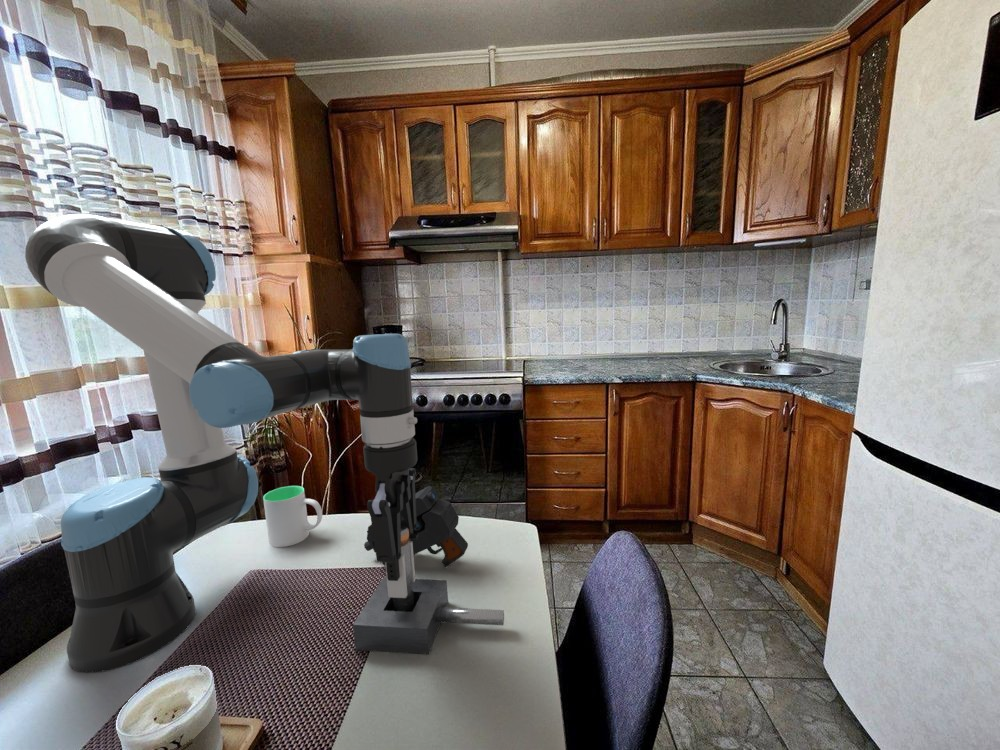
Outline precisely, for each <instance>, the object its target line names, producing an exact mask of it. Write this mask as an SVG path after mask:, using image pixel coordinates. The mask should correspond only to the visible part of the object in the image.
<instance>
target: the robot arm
mask: <svg viewBox="0 0 1000 750" xmlns="http://www.w3.org/2000/svg"><path fill="white" fill-rule="evenodd" d="M25 245H26V246H25V250H24V255H25V256H24V258H25V261H26V265H27V269H28V270H29V272H30V274H31V275H32V277H33V278H34V280H35V281H36V282H37V284H39V285H40V286H41V287H42V288H43V289H44V290H45V291H47V292H48V293H49V294H50V295H52V296H54V297H56V299H58V300H59V301H61V302H63V303H65V304H67V305H70V306H73V307H80V308H84V309H86V310H87V311H88V312H90V313H91V314H93V315H94V316H95V317H97V318H98V319H100V320H101V321H103V322H104V323H106V325H108V326H109V327H111V328H112V329H114V330H115V331H116V332H118V333H119V334H120V335H122V336H123V337H125V338H126V339H128V340H129V341H130V342H131V343H133V344H134V345H136V346H137V347H139V348H140V349H142V350H143V351H142V352H143V355H144V360H145V364H146V368H147V373H148V377H149V381H150V387H151V390H152V396H153V399H154V404H155V408H156V413H157V417H158V421H159V425H160V430H161V431H160V432H161V435H162V440H163V443H164V448H165V453H166V455H165V457H164V459H163V460H162V461H161V462H160V464H159V465H158V467H157V469H158V472H159V478H160V480H159V479H158V478H157V477H150V476H149V477H148V476H145V477H144V476H143V477H135V478H130V479H127V480H125V481H122V482H119V481H118V482H115V483H113V484H109V485H107V486H103V487H101V488H99V489H96V490H94V491H92V492H90V493H88V494H86V495H83V496H82V497H80V498H79V499H78V500H75V501H74V502H73V503H72V504H70V505H69V506H68V508H67V509H66V510H65V511H64V512H63V514H62V515H61V519H60V529H61V530H60V531H61V541H60V545H61V547H62V549H63V551H64V555H65V560H66V565H67V569H68V574H69V578H70V584H71V588H72V593H73V597H74V602H75V611H74V616H73V621H72V625H71V631H70V637H69V639H68V642H67V645H66V653H67V660H68V664H69V666H70V668H71V669H72V670H74V671H76V672H79V673H86V674H89V673H101V672H106V671H111V670H115V669H118V668H122V667H123V666H124V667H125V666H127V665H130V664H133V663H134V662H137V661H140V660H142V659H144V658H146V657H148V656H149V655H152V654H154V653H156V652H157V651H159V650H161V649H162V648H164V647H166V646H167V645H169V644H170V643H172V642H173V641H174V640H175V639H177V638H178V637H179V636H180V635H182V634H183V633H184V632H185V631H186V630H187V629H188V628H189V626H190V625H191V624H192V623H193V621H194V619H195V616H196V614H197V611H196V603H195V598H194V595H192V593H191V592H190V591H189V588H188V587H187V585H186V583H185V582H184V581H183V580H182V578H181V577H180V576H179V574H178V573H177V571H176V566H175V560H174V552H175V551H177V550H178V549H181V548H183V546H186V545H188V544H190V543H192V542H194V541H196V540H197V539H200V538H201V537H204V536H206V535H207V534H210V533H212V532H214V531H216V530H217V529H220V528H222V527H225V526H227V525H230V524H232V523H233V522H234V521H236V520H237V519H238V518H240V517H242V516H243V515H245V514H246V513H248V512H249V510H250V509H251V508H252V506H253V505H254V504H255V502H256V500H257V497H258V492H259V479H258V475H257V472H256V469H255V467H254V466H253V465H251V462H250V461H249V459H247V458H245V457H244V456H242V455H238V452H237V448H236V447H234V446H232V445H230V444H228V443H227V442H226V441H225V437H224V433H223V429H226V428H227V429H228V428H233V427H236V426H237V427H238V426H241V425H244V426H245V425H249V424H254V423H258V422H259V421H262V420H264V419H268V418H271V417H275V416H277V415H282V414H285V413H287V412H290V411H295V410H300V409H303V408H306V407H309V406H312V405H317V404H319V403H323V402H327V401H336V400H337V401H338V400H339V401H343V400H345V401H358V407H359V408H358V409H359V416H360V417H359V419H360V428H361V429H360V430H361V431H360V432H361V441H362V442H363V443H364V446H362V449H363V458H364V460H363V461H364V467H365V470H366V471H368V472H369V473H371V474H373V475H374V476H375V484H374V485H375V486H374V489H375V494H376V495H375V497H374V499H368V500H367V502H366V508H367V512H368V514H369V516H370V522H371V524H372V530H373V537H374V544H375V551H376V553H375V556H376V562H377V563H382V562H385V565H386V566H385V575H386V578H387V587H388V597H394V598H406V597H407V595H408V594H407V582H406V570H405V558H404V554H401V526H406V527H407V528H408V529H409V549H410V561H411V573H412V583H414V581H415V579H416V570H415V559H414V555H413V543H412V541H411V539H414V540H417V538H418V533H413V530H416V528H417V520H416V498H415V494H416V473H417V472H416V471H417V470H416V468H414V467H415V466H416V464H417V462H418V449H417V440H416V439H415V438H414V436H415V435H416V427H415V425H416V424H417V423H418V418H417V417H415V416H414V415H415V412H414V403H413V390H412V388H413V387H412V374H411V373H412V372H411V371H412V370H411V367H412V362H411V360H410V359H411V357H410V352H409V344H408V343H409V342H408V339H407V337H405V336H404V335H403V334H400V333H384V334H379V333H378V334H376V333H375V334H363V335H358V336H357V335H356V336H355V337H354V339H353V341H352V342H353V343H352V346H353V347H352V348H350V349H320V348H312V349H303V350H297V351H295V352H292V353H289V354H280V355H279V354H278V355H272V356H271V355H270V356H269V355H268V356H264V355H261V354H259V353H258V352H256V351H255V350H254V349H252V348H249V347H248V346H246V345H245V344H244V343H243V342H241V341H239V340H237V339H236V338H235V337H233V336H232V335H230V334H229V333H227V332H226V331H225V330H223V329H221V328H220V327H218V326H217V325H216V324H215V323H213V322H212V321H210V320H208V319H207V318H205V317H203V315H201V314H199V313H200V311H201V310H202V308H203V307H205V305H206V304H207V302H206V296H207V295H208V294H209V293H210V292H211V291H212V290H213V288H214V286H215V284H214V282H215V281H216V277H217V275H216V265H215V262H214V260H213V259H214V258H213V257H212V255H211V253H210V251H209V249H208V248H207V247H206V245H205V244H204V243H203V242H202V241H201V240H199V239H198V238H197V237H195V235H193V234H191V233H189V232H188V231H187V232H186V231H182V230H180V229H179V230H178V229H174V228H172V227H169V226H166V225H165V226H164V225H153V224H146V223H141V222H140V223H139V222H135V221H128V220H124V219H123V220H122V219H118V218H110V217H105V216H100V215H93V214H86V213H83V214H82V213H81V214H80V213H78V214H76V213H75V214H73V213H72V214H66V215H61V216H58V217H54V218H51V219H50V220H48V221H46V222H43V223H42V224H41V225H39V226H38V227H36V229H35V230H34V231H33V232H32V234H31V235H30V236H29V238H28V241H27V242H26V244H25Z"/></svg>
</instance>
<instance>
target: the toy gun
mask: <svg viewBox="0 0 1000 750" xmlns="http://www.w3.org/2000/svg"><path fill="white" fill-rule="evenodd" d="M415 498H416V520H417V528H416V530H413V533H418V538H417V540H414V539H411V541H412V543H413V556H414V555H416V554H417V555H418V554H419V553H421V552H423V551H426V550H427V551H428V552H429V553H430V554H431V555H437V554H439V553H440V552H441V551H443V554H444V557H443V559H442V560H441V564H442V566H443V568H446V569H447V568H448V567H449V566H450V565H451V566H452V564H453V563H455V562H456V561H458V560H459V559H460V558H461V557H463V556H464V555H465V553H466V551H467V549H468V546H469V543H468V541H466V540H465V538H464V536H462V534H461V533H460V532H459V531H458V529H457V526H458V525H459V519H460V516H459V514H458V513H457V512H456V509H455V508H454V506H453V504H452V503H451V501H447V500H444V499H443V498H442V499H441V498H439V495H438V494H437V493H436V490H435V489H434V487H432V486H430V485H429V486H428V485H427V486H425V487H424V488H423V489H421V490H419V491H417V492H415ZM366 532H367V534H366V541H365V542H364V544H363V547H364V549H365V550H366V551H367V552H368V551H371V550H373V551H374V553H375V554H376V551H375V544H374V537H373V530H372V523H371V524H370V525H368V527H367V530H366ZM435 545H436V546H437V548H438V549H436V550H435V549H433V548H432V547H433V546H435ZM381 563H382V565H383V566H385V567H386V565H385V562H381Z"/></svg>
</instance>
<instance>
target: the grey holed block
mask: <svg viewBox="0 0 1000 750" xmlns="http://www.w3.org/2000/svg"><path fill="white" fill-rule="evenodd" d="M412 586H413V598H414V610H413V612H403V611H394V600H393V597H388V587H387V577H383V578H382V579H381V580H380V582H379V584H378V585H377V587H376V588H375V589H374V591H373V592H372V595H371V596H370V597H369V599H368V601H367V602H366V604H365V605H364V606H363V608H362V610H361V612H360V613H359V615H358V616H357V618H356V619H355V621H354V623H352V630H353V631H352V632H353V639H354V640H353V641H354V649H355V651H368V652H382V653H395V654H396V653H398V654H411V655H426V656H427V655H429V656H430V653H431V651H432V647H433V645H434V642H435V640H436V637H437V634H438V631H439V629H440V626H441V624H442V623H446V624H447V623H451V624H469V625H470V624H471V625H485V626H486V625H490V626H504V623H505V610H504V609H490V608H489V609H486V608H485V609H484V608H467V607H466V608H465V607H448V605H449V594H448V593H449V592H448V580H447V579H424V578H423V579H422V578H415V581H414V583H412Z"/></svg>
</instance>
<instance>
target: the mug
mask: <svg viewBox="0 0 1000 750" xmlns="http://www.w3.org/2000/svg"><path fill="white" fill-rule="evenodd" d="M262 498H263V499H262V501H263V506H264V514H265V523H266V530H267V538H268V544H269V546H271V547H273V548H287V547H290V546H294V545H297V544H299V543H301V542H303V541H304V540H306V539H307V538H308V536H310V531H311V530H314V529H316V528H317V527H318V526H319V525H320V524H321V522H322V519H323V509H322V507H321V505H320V503H319V502H318V501H317V500H316V499H313V498H307V497H306V494H305V488H304V487H303V486H300V485H288V486H281V487H277V488H275V489H273V490H269V491H268V492H267V493H265V494H264V495H263V497H262ZM307 505H310V506H312V507H313V508H314V509H315V513H316V515H317V517H316V523H314V524H311V523H310V522H309V520H308V512H307V511H308V510H307Z"/></svg>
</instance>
